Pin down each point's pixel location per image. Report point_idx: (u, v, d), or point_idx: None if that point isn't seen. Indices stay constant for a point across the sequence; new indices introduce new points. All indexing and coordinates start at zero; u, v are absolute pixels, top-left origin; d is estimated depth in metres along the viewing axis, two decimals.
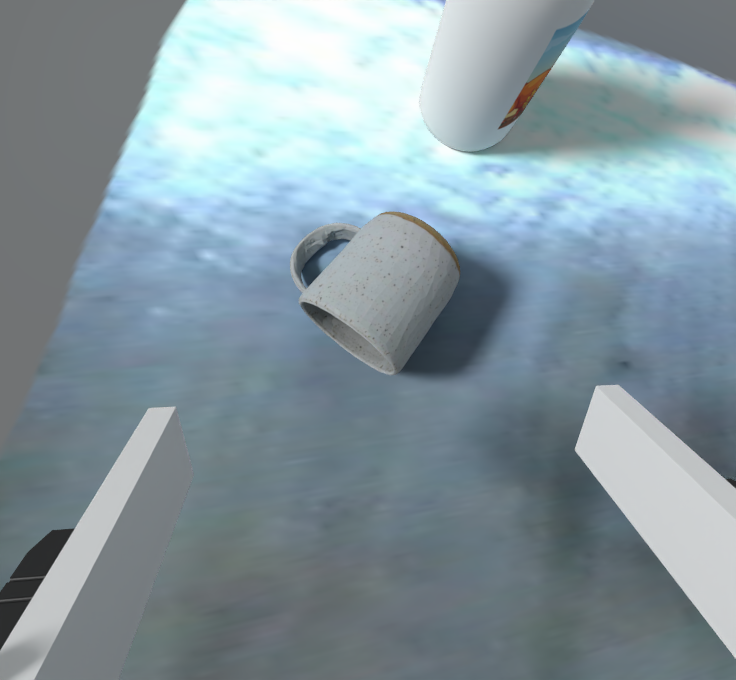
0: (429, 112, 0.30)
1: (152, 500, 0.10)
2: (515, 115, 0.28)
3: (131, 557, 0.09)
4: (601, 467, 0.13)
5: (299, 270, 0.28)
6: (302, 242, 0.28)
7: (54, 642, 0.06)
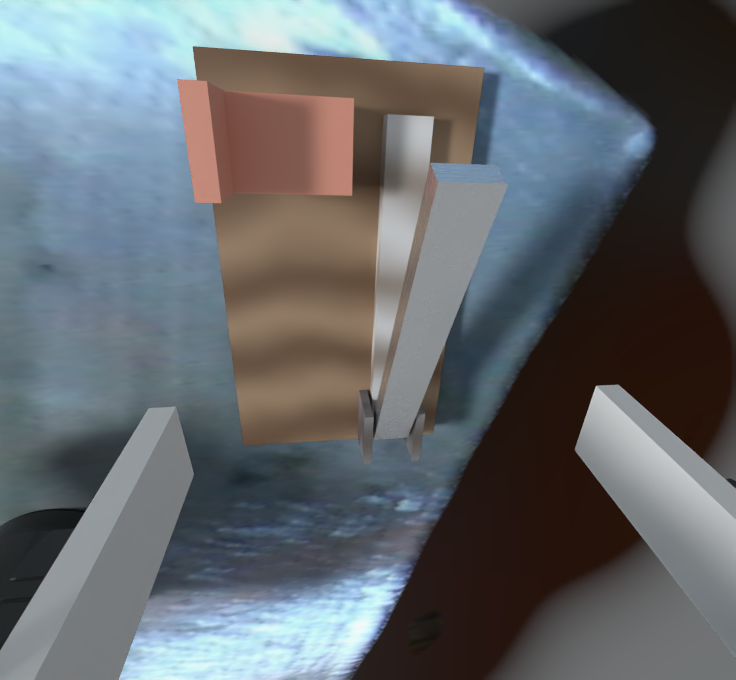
0: None
1: (152, 501, 0.10)
2: None
3: (131, 557, 0.09)
4: (601, 466, 0.13)
5: None
6: None
7: (54, 642, 0.06)
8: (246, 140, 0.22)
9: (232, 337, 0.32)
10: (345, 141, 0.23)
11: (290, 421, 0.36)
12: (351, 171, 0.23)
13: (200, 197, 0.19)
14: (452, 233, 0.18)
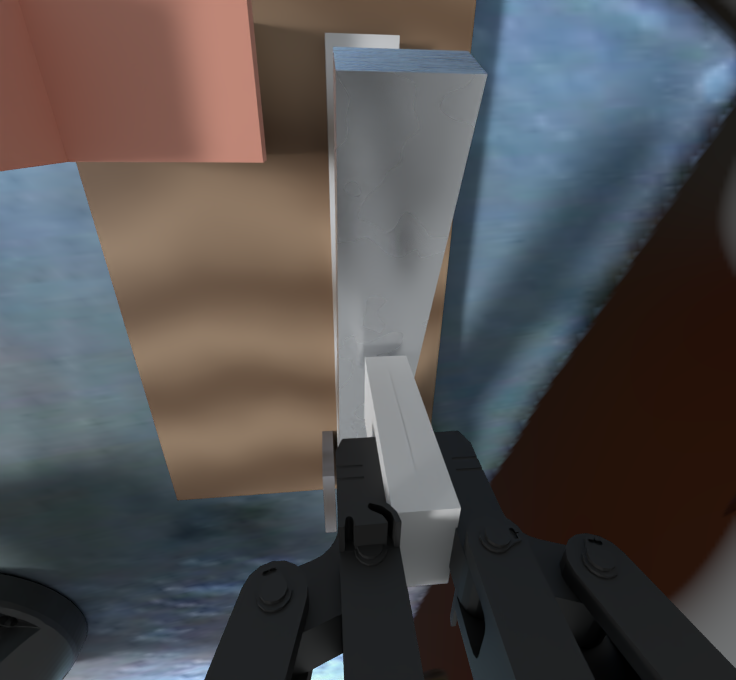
0: None
1: None
2: None
3: None
4: None
5: None
6: None
7: (421, 493, 0.09)
8: (71, 70, 0.13)
9: (141, 368, 0.24)
10: (240, 69, 0.14)
11: (235, 470, 0.28)
12: (257, 121, 0.14)
13: None
14: (390, 189, 0.10)
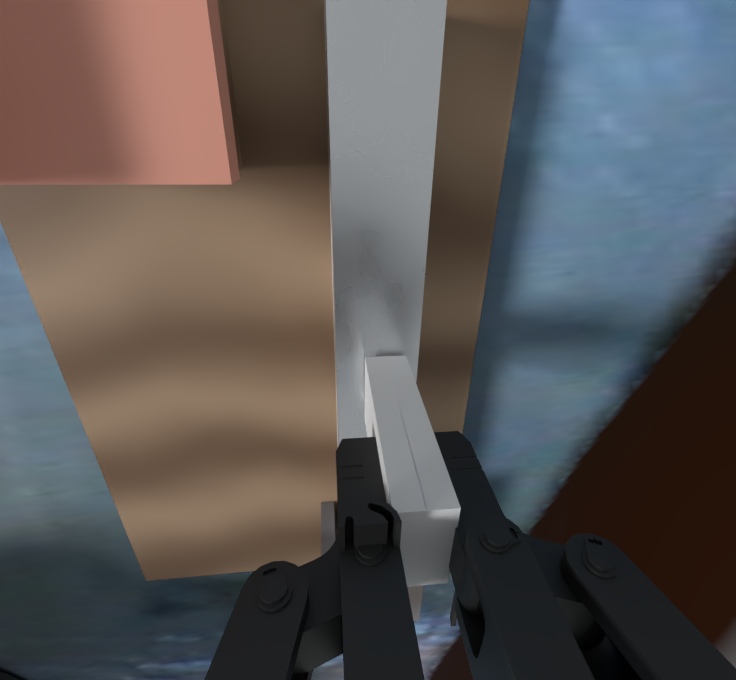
0: None
1: None
2: None
3: None
4: None
5: None
6: None
7: (421, 493, 0.09)
8: None
9: (92, 435, 0.19)
10: (191, 41, 0.09)
11: (215, 547, 0.23)
12: (220, 123, 0.09)
13: None
14: (376, 96, 0.11)
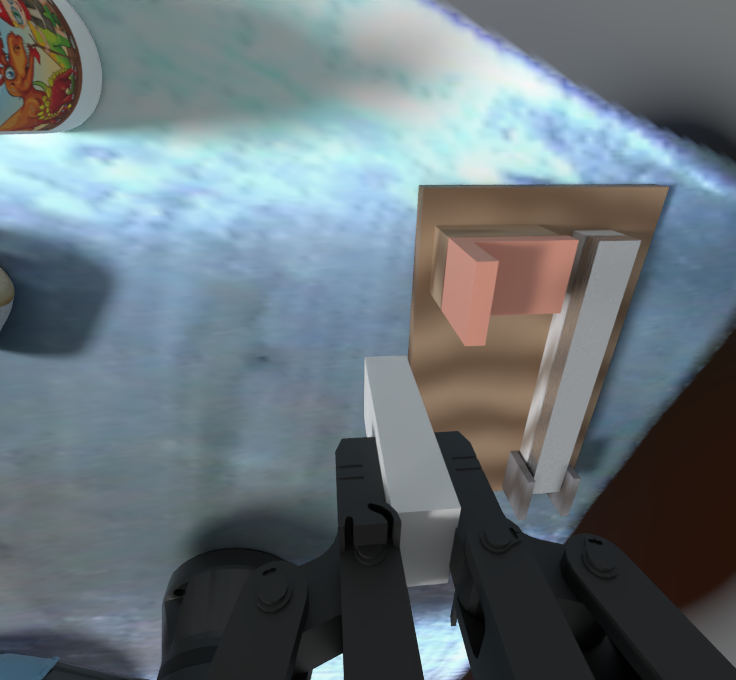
0: None
1: None
2: (54, 121, 0.22)
3: None
4: None
5: None
6: None
7: (421, 493, 0.09)
8: None
9: None
10: (564, 272, 0.26)
11: None
12: (564, 295, 0.27)
13: (470, 342, 0.23)
14: (607, 276, 0.28)
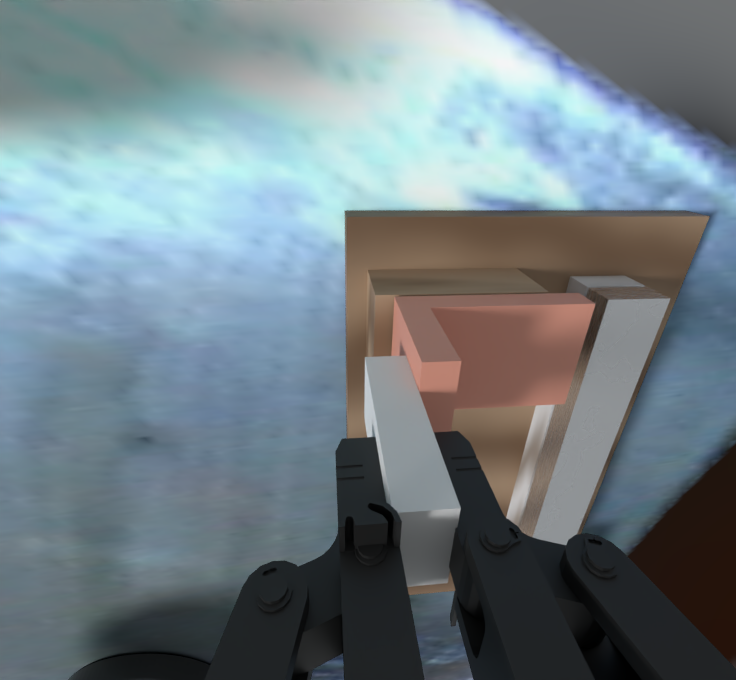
0: None
1: None
2: None
3: None
4: None
5: None
6: None
7: (421, 493, 0.09)
8: None
9: None
10: (571, 349, 0.17)
11: None
12: (570, 379, 0.18)
13: None
14: (618, 347, 0.19)
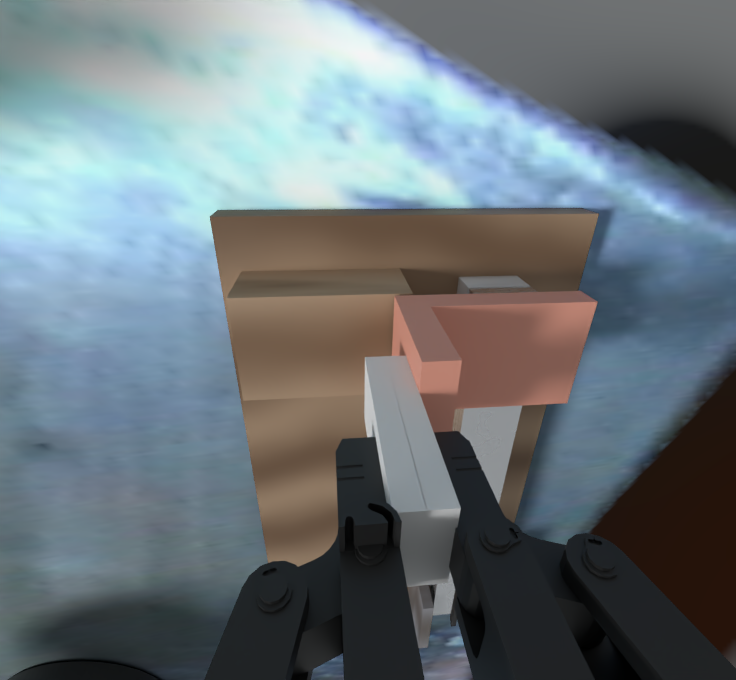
0: None
1: None
2: None
3: None
4: None
5: None
6: None
7: (421, 493, 0.09)
8: None
9: (263, 511, 0.27)
10: (573, 348, 0.17)
11: None
12: (572, 378, 0.18)
13: None
14: None
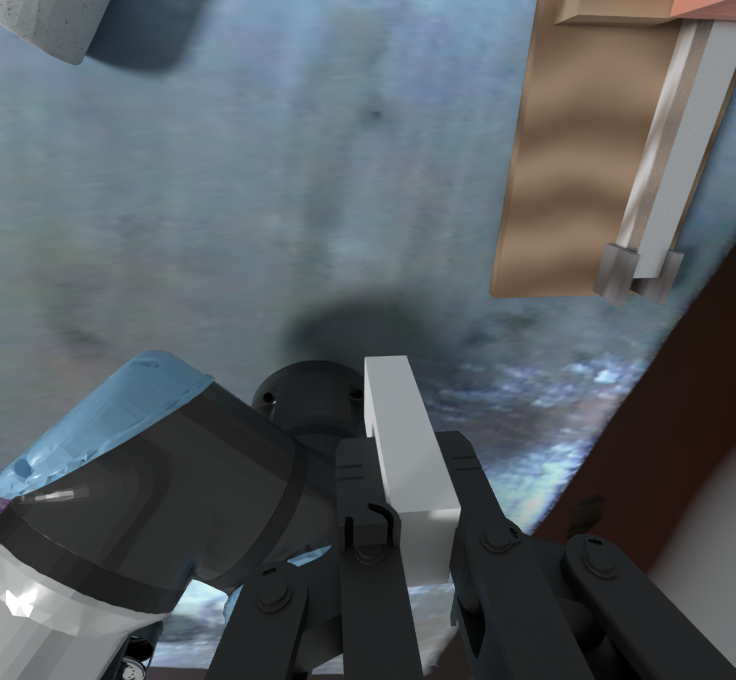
0: None
1: None
2: None
3: None
4: None
5: None
6: None
7: (421, 493, 0.09)
8: None
9: (516, 183, 0.36)
10: None
11: (539, 274, 0.41)
12: None
13: None
14: None
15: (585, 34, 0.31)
